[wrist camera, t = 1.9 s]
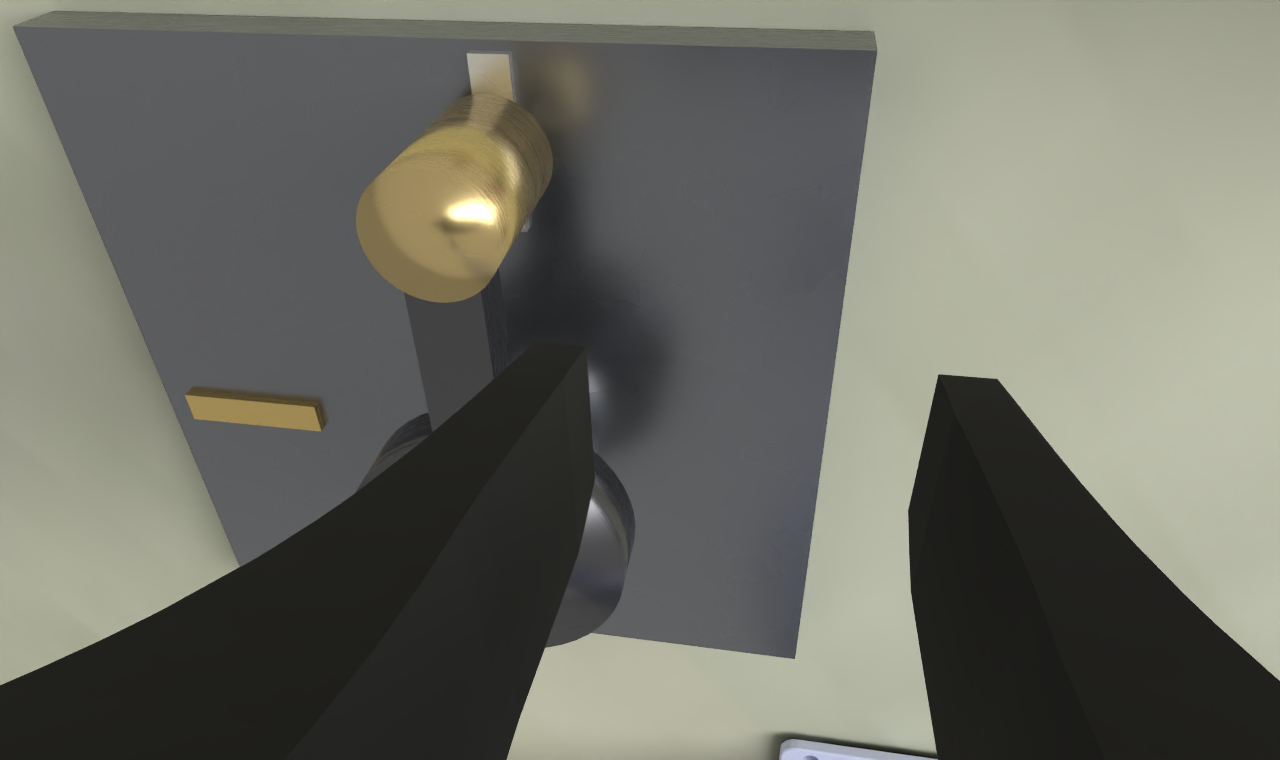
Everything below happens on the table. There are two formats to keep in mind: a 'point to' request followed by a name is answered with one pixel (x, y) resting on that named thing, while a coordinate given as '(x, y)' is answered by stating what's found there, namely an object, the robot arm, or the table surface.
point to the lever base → (530, 272)
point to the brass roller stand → (479, 301)
